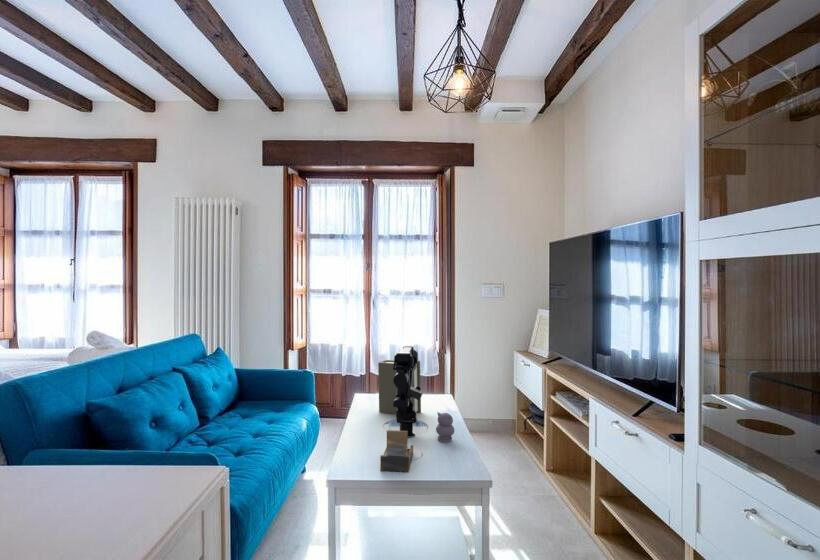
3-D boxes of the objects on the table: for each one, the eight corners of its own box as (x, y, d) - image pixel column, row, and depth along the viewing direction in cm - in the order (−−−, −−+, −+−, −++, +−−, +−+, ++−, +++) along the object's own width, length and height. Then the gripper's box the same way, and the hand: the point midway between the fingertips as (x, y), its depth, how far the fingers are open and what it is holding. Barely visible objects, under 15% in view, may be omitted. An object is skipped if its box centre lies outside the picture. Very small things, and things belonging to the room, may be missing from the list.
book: (377, 413, 224) (377, 361, 224) (386, 408, 232) (385, 358, 233) (413, 417, 215) (412, 363, 215) (420, 412, 223) (420, 360, 224)
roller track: (387, 452, 171) (387, 439, 171) (413, 453, 170) (413, 440, 170) (380, 471, 154) (380, 456, 154) (408, 472, 153) (408, 457, 153)
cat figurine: (458, 440, 185) (458, 413, 185) (447, 445, 179) (447, 417, 179) (442, 435, 190) (443, 409, 190) (432, 440, 184) (432, 413, 184)
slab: (387, 455, 161) (387, 430, 161) (407, 456, 160) (407, 430, 160) (384, 462, 155) (384, 435, 155) (405, 463, 154) (405, 436, 154)
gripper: (419, 387, 168) (419, 426, 168) (423, 377, 187) (423, 411, 187) (393, 386, 169) (392, 424, 169) (399, 376, 188) (398, 410, 188)
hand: (403, 417), depth 178 cm, fingers closed
